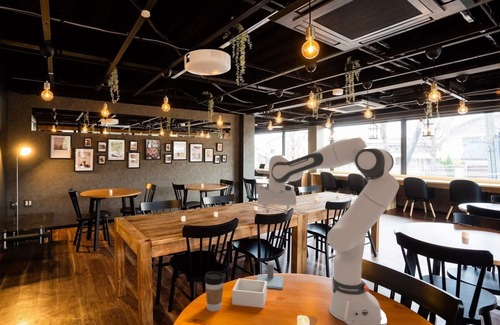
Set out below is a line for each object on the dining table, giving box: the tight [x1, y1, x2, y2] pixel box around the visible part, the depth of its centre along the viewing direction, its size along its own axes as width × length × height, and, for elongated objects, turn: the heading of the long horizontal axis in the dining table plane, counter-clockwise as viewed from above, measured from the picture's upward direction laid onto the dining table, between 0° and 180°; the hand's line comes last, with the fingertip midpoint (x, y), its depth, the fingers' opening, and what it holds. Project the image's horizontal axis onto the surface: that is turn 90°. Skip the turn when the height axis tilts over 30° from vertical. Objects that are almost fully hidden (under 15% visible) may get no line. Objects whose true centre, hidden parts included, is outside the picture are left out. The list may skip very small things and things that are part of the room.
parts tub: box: [231, 277, 268, 309], centre depth 123 cm, size 14×12×7 cm
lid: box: [255, 262, 285, 290], centre depth 139 cm, size 14×12×9 cm
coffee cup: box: [204, 271, 225, 312], centre depth 115 cm, size 8×8×15 cm
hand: (276, 213), depth 139 cm, fingers open, 8 cm apart
